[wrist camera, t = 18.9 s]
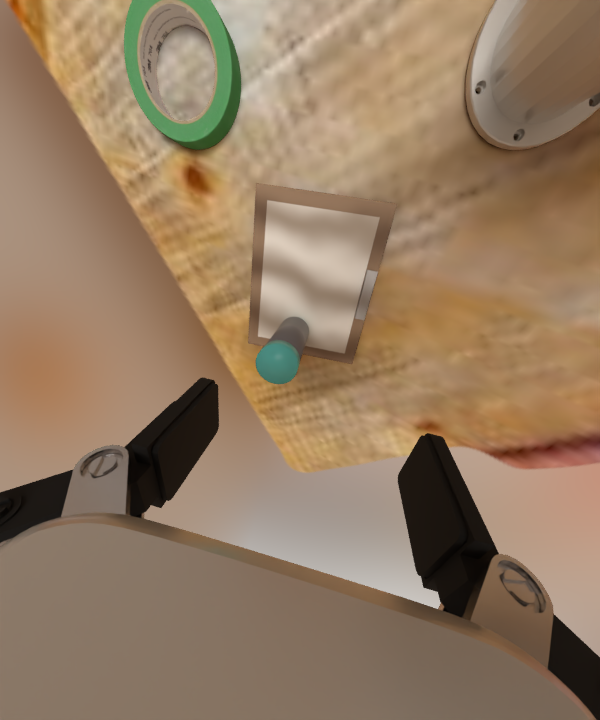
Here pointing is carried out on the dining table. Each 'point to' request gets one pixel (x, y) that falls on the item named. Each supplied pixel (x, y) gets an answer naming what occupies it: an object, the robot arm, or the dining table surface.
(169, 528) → the robot arm
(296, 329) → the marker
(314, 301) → the clipboard
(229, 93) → the tape roll
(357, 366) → the dining table surface
